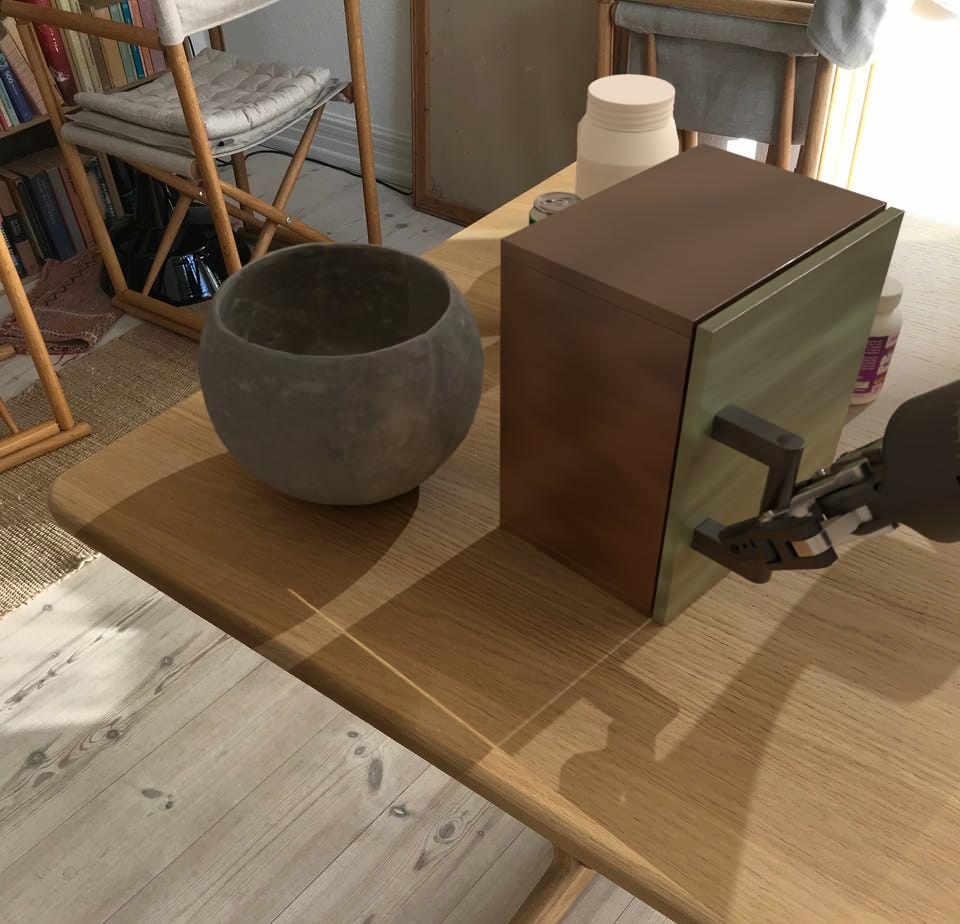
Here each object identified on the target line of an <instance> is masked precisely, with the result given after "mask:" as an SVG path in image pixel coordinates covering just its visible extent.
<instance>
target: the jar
mask: <svg viewBox="0 0 960 924" xmlns="http://www.w3.org/2000/svg"><path fill="white" fill-rule="evenodd" d="M586 96H587V99H586V111H585V114H584V116H583V117H582V118H581V119H580V120H579V122H578V123H577V130H576V131H577V134H576V162H575V163H576V164H575V183H574V194H576V195H578V196H580V197H581V198H582V199H583V200H584V199H586V198H588V197H590V196H592V195H594V194H596V193H598V192H600V191H602V190H605V189H607V188H609V187H611V186H613V185H615V184H617V183H619V182H621V181H623V180H626V179H628V178H630V177H632V176H634V175H636V174H638V173H640V172H642V171H644V170H647V169H649V168H651V167H653V166H655V165H657V164H659V163H661V162H663V161H665V160H668V159H670V158H672V157H674V156H676V155H678V154H680V152H679V151H680V140H679V137H678V132H677V131H678V130H677V126H676V121H675V118H674V107H675V106H674V104H675V96H676V89H675V87H674V86H673V84H671V83H670V82H669V81H666V80H664V79H661V78H659V77H655V76H651V75H644V74H630V73H629V74H628V73H627V74H613V75H607V76H603V77H601V78H598V79H596V80H594V81H593V82H591V83H590V84H589V85H588V87H587V95H586Z"/></svg>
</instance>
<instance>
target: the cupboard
mask: <svg viewBox="0 0 960 924" xmlns="http://www.w3.org/2000/svg"><path fill="white" fill-rule="evenodd" d="M887 207H888V202H887V201H884V200H881V199H877V198H874V197H871V196H869V195H866V194H862V193H859V192H857V191H852V190H849V189H846V188H844V187H841V186H837V185H835V184H831V183H828V182H826V181H822V180H818V179H815V178H813V177H810V176H806V175H803V174H800V173H798V172H794V171H791V170H789V169H785V168H781V167H778V166H775V165H772V164H769V163H766V162H763V161H760V160H757V159H753V158H751V157H748V156H744V155H741V154H738V153H735V152H732V151H728V150H726V149H724V148H719V147H717V146H713V145H711V144H708V143H704V142H702V143H699V144H697V145H695V146H693V147H691V148H689V149H687V150H685V151H683V152H679V154H678V155H676V156H674V157H672V158H670V159H668V160H665V161H663V162H661V163H659V164H657V165H655V166H653V167H651V168H649V169H647V170H644V171H642V172H640V173H638V174H636V175H634V176H632V177H630V178H628V179H626V180H623V181H621V182H619V183H617V184H615V185H613V186H611V187H609V188H607V189H605V190H602V191H600V192H598V193H596V194H594V195H592V196H590V197H588V198H586V199H584V200H581V201H579V202H577V203H575V204H573V205H571V206H569V207H567V208H565V209H563V210H560V211H558V212H556V213H554V214H552V215H550V216H548V217H546V218H544V219H542V220H539V221H537V222H535V223H533V224H531V225H529V224H528V225H527V226H525V227H523V228H521V229H519V230H516V231H514V232H512V233H510V234H507V235H506V236H504V237H502V238H500V290H499V291H500V293H499V294H500V298H499V299H500V300H499V301H500V306H499V307H500V308H499V309H500V310H499V311H500V313H499V314H500V315H499V319H500V320H499V321H500V323H499V328H500V329H499V334H500V335H499V343H500V344H499V360H500V361H499V367H500V368H499V527H501V529H504V530H505V531H507V532H508V533H510V534H512V535H513V536H515V537H517V538H518V539H520V540H522V541H523V542H524V543H526V544H528V545H530V546H532V547H533V548H534V549H536V550H537V551H539V552H541V553H542V554H544V555H546V556H547V557H549V558H551V560H554V561H555V562H557V563H558V564H560V565H561V566H564V567H565V568H566V569H568V570H569V571H572V572H573V573H574V574H577V575H578V576H580V577H581V578H583V579H585V580H586V581H588V582H589V583H591V584H593V585H594V586H596V587H597V588H599V589H601V590H602V591H604V592H606V593H607V594H609V595H611V596H612V597H614V598H615V599H617V600H619V601H620V602H621V603H623V604H625V605H627V606H629V607H630V608H632V610H635V611H636V612H638V613H639V614H641V615H643V616H645V617H646V618H651V617H653V611H654V604H655V598H656V591H657V585H658V578H659V572H660V565H661V559H662V552H663V546H664V539H665V533H666V526H667V520H668V513H669V507H670V500H671V494H672V487H673V481H674V474H675V468H676V461H677V455H678V448H679V442H680V435H681V429H682V422H683V416H684V409H685V403H686V396H687V390H688V383H689V377H690V370H691V364H692V357H693V351H694V344H695V338H696V331H697V326H698V325H700V324H701V323H703V322H705V321H706V320H708V319H710V318H711V317H713V316H714V315H716V314H718V313H719V312H721V311H723V310H724V309H726V308H727V307H729V306H731V305H732V304H734V303H735V302H737V301H739V300H740V299H742V298H744V297H745V296H747V295H748V294H750V293H752V292H753V291H755V290H756V289H758V288H760V287H761V286H763V285H765V284H766V283H768V282H769V281H771V280H773V279H774V278H776V277H778V276H779V275H781V274H782V273H784V272H786V271H787V270H789V269H790V268H792V267H794V266H795V265H797V264H799V263H800V262H802V261H803V260H805V259H807V258H808V257H810V256H811V255H813V254H815V253H816V252H818V251H820V250H821V249H823V248H824V247H826V246H828V245H829V244H831V243H833V242H834V241H836V240H837V239H839V238H841V237H842V236H844V235H845V234H847V233H849V232H850V231H852V230H854V229H855V228H857V227H858V226H860V225H862V224H863V223H865V222H866V221H868V220H870V219H871V218H873V217H875V216H876V215H878V214H879V213H881V212H883V211H884V210H886V209H887Z"/></svg>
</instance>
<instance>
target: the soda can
mask: <svg viewBox="0 0 960 924" xmlns="http://www.w3.org/2000/svg"><path fill="white" fill-rule="evenodd" d="M581 200H583V199H582V198H581V197H580V196H578V195H576V194H575V193H572V192H569V191H568V192H567V191H549V192H545V193H542V194H540V195H538V196H536V197H535V198H534V200H533V206H532V207H531V209H530V210H529V212H528V226H529V225H531V224H533V223H535V222H537V221H539V220H542V219H544V218H546V217H548V216H550V215H552V214H554V213H556V212H558V211H560V210H563V209H565V208H567V207H569V206H571V205H573V204H575V203H577V202H579V201H581Z"/></svg>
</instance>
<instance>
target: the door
mask: <svg viewBox="0 0 960 924" xmlns="http://www.w3.org/2000/svg"><path fill="white" fill-rule="evenodd" d="M905 214H906V211H905V210H904V209H900V208H897V207H894V206H889V207H888V208H886V209H885V210H884V211H883V212H881V213H879V214H878V215H876V216H875V217H873V218H871V219H870V220H868V221H866V222H865V223H863V224H862V225H860V226H858V227H857V228H855V229H854V230H852V231H850V232H849V233H847V234H845V235H844V236H842V237H841V238H839V239H837V240H836V241H834V242H833V243H831V244H829V245H828V246H826V247H824V248H823V249H821V250H820V251H818V252H816V253H815V254H813V255H811V256H810V257H808V258H807V259H805V260H803V261H802V262H800V263H799V264H797V265H795V266H794V267H792V268H790V269H789V270H787V271H786V272H784V273H782V274H781V275H779V276H778V277H776V278H774V279H773V280H771V281H769V282H768V283H766V284H765V285H763V286H761V287H760V288H758V289H756V290H755V291H753V292H752V293H750V294H748V295H747V296H745V297H744V298H742V299H740V300H739V301H737V302H735V303H734V304H732V305H731V306H729V307H727V308H726V309H724V310H723V311H721V312H719V313H718V314H716V315H714V316H713V317H711V318H710V319H708V320H706V321H705V322H703V323H701V324H700V325H698V326H697V331H696V338H695V344H694V351H693V357H692V364H691V370H690V377H689V383H688V390H687V396H686V403H685V409H684V416H683V422H682V429H681V435H680V442H679V448H678V455H677V461H676V468H675V474H674V481H673V487H672V494H671V500H670V507H669V513H668V520H667V526H666V533H665V539H664V546H663V552H662V559H661V565H660V572H659V578H658V585H657V591H656V598H655V604H654V611H653V615H652V616H651V617H652V618H651V619H652V620H653V621H654V622H656V623H657V624H659V625H660V626H662V627H664V626H666V625H667V624H668V623H669V622H671V621H672V620H673V619H675V617H676V616H678V615H679V614H681V613H682V612H683V611H684V610H685V609H686V608H687V607H689V606H690V605H691V604H692V603H693V602H695V601H696V600H698V599H699V598H700V597H701V596H702V595H703V594H705V593H706V592H707V591H708V590H709V589H710V588H711V587H713V586H714V585H716V583H718V582H719V581H720V580H721V579H722V578H724V577H725V576H726V575H727V574H728V573H730V572H733V573H734V574H736V575H738V576H740V577H742V578H743V579H745V580H747V581H749V582H750V583H753V584H757V585H764V584H766V583H768V582H769V581H770V580H771V579H772V575H773V571H769V570H768V568H767V567H766V565H765V561H764V559H763V557H759V558H755V559H752V560H748V561H745V562H741V563H735V562H733V561H732V560H731V559H730V558H729V556H728V554H727V553H726V551H725V549H724V547H723V545H722V543H721V542H720V540H719V537H718V535H719V532H720V531H722V530H723V529H724V528H726V527H727V526H729V525H732V524H735V523H738V522H741V521H744V520H747V519H750V518H753V517H756V516H759V515H762V514H764V513H765V512H767V511H769V510H771V511H772V510H775V509H777V508H780V507H782V506H785V505H787V504H789V503H790V502H791V498H792V494H793V490H794V487H795V484H796V483H798V482H801V481H804V480H807V479H810V477H811V476H812V475H813V474H815V472H816V471H817V470H819V469H821V468H823V469H825V468H828V467H830V466H831V465H832V464H833V463H834V462H835V461H834V460H835V457H836V454H837V450H838V447H839V443H840V441H841V436H842V433H843V429H844V425H845V422H846V418H847V416H848V412H849V408H850V405H851V404H850V401H851V398H852V395H853V391H854V388H855V384H856V381H857V377H858V374H859V370H860V367H861V363H862V360H863V356H864V353H865V349H866V346H867V342H868V339H869V335H870V332H871V328H872V325H873V321H874V318H875V314H876V311H877V307H878V304H879V300H880V297H881V293H882V290H883V286H884V283H885V279H886V276H888V272H889V268H890V265H891V262H892V258H893V255H894V251H895V248H896V245H897V240H898V238H899V234H900V230H901V227H902V223H903V220H904V216H905ZM761 499H762V501H761Z"/></svg>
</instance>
